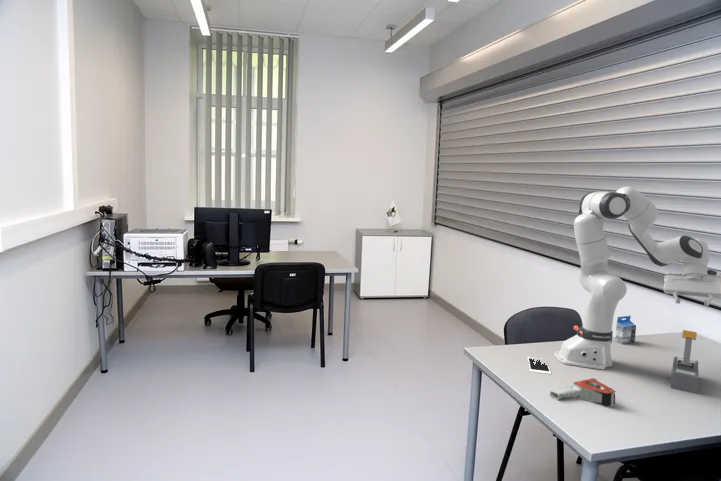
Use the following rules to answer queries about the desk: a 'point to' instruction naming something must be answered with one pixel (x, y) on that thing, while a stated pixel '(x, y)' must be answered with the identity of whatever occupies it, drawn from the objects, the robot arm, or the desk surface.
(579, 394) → the tape dispenser
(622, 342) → the label tape box
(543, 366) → the cell phone
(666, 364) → the desk surface
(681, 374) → the block
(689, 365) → the lever
